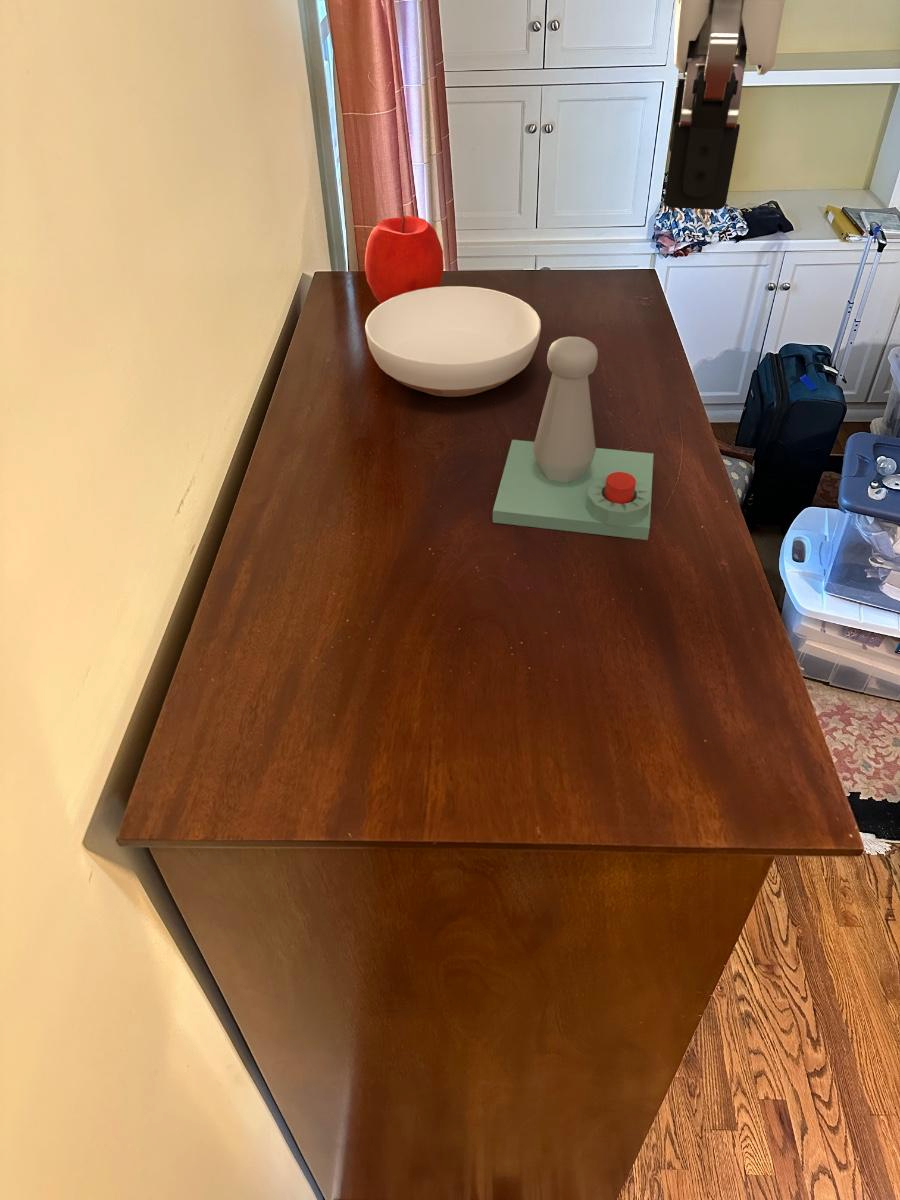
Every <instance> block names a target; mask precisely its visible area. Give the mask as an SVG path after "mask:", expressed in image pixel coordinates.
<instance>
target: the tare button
mask: <svg viewBox="0 0 900 1200" xmlns="http://www.w3.org/2000/svg"><path fill="white" fill-rule="evenodd" d="M635 485H636V480H635V478H634V477H633V476H632V475H630V474H628V473H625V472H614V473H611V474H609V475H608V476H607V478H606V485H605V492H604V496H605V498H606V499H607V500H608V501H610V502H612V503H619V504H625V503H629V502H631V501H632V500H633V498H634V492H635Z"/></svg>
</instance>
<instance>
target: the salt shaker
mask: <svg viewBox="0 0 900 1200" xmlns="http://www.w3.org/2000/svg"><path fill="white" fill-rule="evenodd" d="M598 352H599V351H598V349H597V346H596V345H595V344H594V343H593V342H592V341H590V340H589V339H587V338H583V337H580V336H564V337H560V338H557V340H554V341H553V342H552V343H551V345H550V346H549V347H548V351H547V355H546V363H547V368H548V369H549V371H550V372H551V377H550V380H549V384H548V389H547V392H546V396H545V400H544V404H543V408H542V412H541V416H540V419H539V423H538V427H537V431H536V435H535V439H534V441H533V442H534V446H533V451H534V455H535V457H536V460H537V462H538V465H539V468H540V470H541V471H542V472H543V474H544V475H545V476H546V478H547V479H548V480H552V481H558V482H564V483H569V482H571V481H573V480H576V479H578V478H581V477H582V476H583V475H584V473H585V472H586V470H587V469H588V467H589V466H590V464H591V463H592V460H593V457H594V454H595V451H596V448H597V447H596V437H595V429H594V419H593V410H592V401H591V391H590V383H589V375H591V374H593V373H594V371H595V370H596V367H597V364H598V359H599V355H598V354H599V353H598Z"/></svg>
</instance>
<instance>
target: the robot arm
mask: <svg viewBox="0 0 900 1200" xmlns="http://www.w3.org/2000/svg"><path fill="white" fill-rule="evenodd" d="M674 1H675V2H674V4H675V6H674V29H673V30H674V36H673V37H674V40H673V41H674V43H673V44H674V49H673V50H674V51H673V52H674V63H673V64H674V67H675V68H677V70H678V71H680V72H681V73H682V74H683V76H682V78H678V81H677V89H676V96H675V102H674V103H675V104H674V111H673V119H672V124H671V125H672V126H671V134H670V140H669V152H670V153H669V154H670V155H669V162H668V169H667V177H666V184H665V191H664V199H663V200H664V205H665V206H666V207H667V208H671V209H689V210H690V209H691V210H714V211H719V210H722V209H723V208H724V207H725V206H726V204H727V200H728V195H729V190H730V184H731V178H732V173H733V167H734V162H735V156H736V151H737V145H738V140H739V134H740V128H741V125H740V123H738V120H739V119H738V118H739V113H740V106H741V99H742V90H743V83H744V76H745V69H746V65H747V56H748V62H749V65H750V66H755V67H756V72H757V75H758V76H764V75H765V74H767V73H768V72H769V71H771V70H772V68H773V67H774V65H775V62H776V56H777V49H778V44H779V43H778V42H779V37H780V31H781V30H780V29H781V25H782V18H783V13H784V7H785V1H786V0H674Z"/></svg>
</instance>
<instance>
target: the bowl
mask: <svg viewBox="0 0 900 1200" xmlns="http://www.w3.org/2000/svg"><path fill="white" fill-rule="evenodd" d="M541 323H542V322H541V318H540V316H539V314H538V313H537V311H536V310H535V309H534V308H533V307H532V306H531V305H530V304H529V303H528V302H525V301H524V300H522V299H521V298H518V297H516V296H514V295H511V294H508V293H506V292H502V291H500V290H499V291H498V290H495V289H489V288H484V287H477V286H476V287H475V286H466V285H465V286H464V285H447V286H446V285H445V286H440V287H432V288H426V289H420V290H415V291H411V292H407V293H403V294H401V295H398V296H396V297H393V298H391V299H389V300H387V301H385V302H383V303H382V304H380V303H379V304H378V305H377V306H376V307H375V308H374V309H373V310H372V311H371V312H370V313H369V315H368V316H367V318H366V321H365V323H364V324H365V325H364V329H365V335H366V339H367V344H368V349H369V351H370V353H371V355H372V357H373V360H374V361H375V362H376V364H377V366H378V367H379V369H381V370H382V371H383V372H384V373H385V374H386V375H388V376H390V377H391V378H392V379H394V380H395V381H397V382H398V383H400V384H402V385H404V386H405V387H407V388H410V389H412V390H416V391H418V392H423V393H424V394H425V393H426V394H429V395H433V396H438V397H445V398H446V397H447V398H458V397H459V398H460V397H467V396H473V395H478V394H481V393H483V392H486V391H488V390H489V391H490V390H492V389H495V388H498V387H499V386H502V385H503V384H505V383H507V382H509V381H510V380H511V379H512V378H514V377H515V376H516V375H519V373H521V372H522V371H523V370H525V368H526V367H527V366H528V365H529V364H530V362H531V360H532V359H533V357H534V354H535V351H536V349H537V346H538V344H539V341H540V335H541V330H542V324H541Z"/></svg>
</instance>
